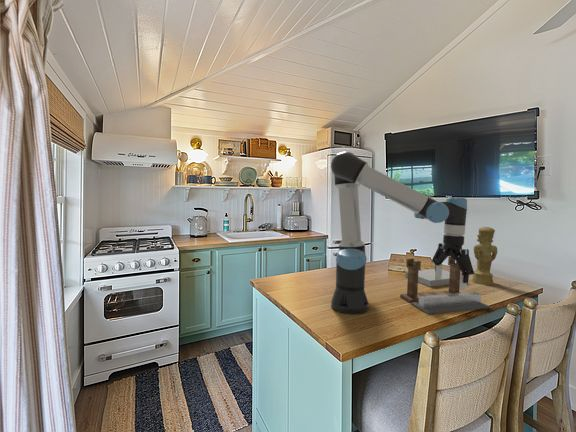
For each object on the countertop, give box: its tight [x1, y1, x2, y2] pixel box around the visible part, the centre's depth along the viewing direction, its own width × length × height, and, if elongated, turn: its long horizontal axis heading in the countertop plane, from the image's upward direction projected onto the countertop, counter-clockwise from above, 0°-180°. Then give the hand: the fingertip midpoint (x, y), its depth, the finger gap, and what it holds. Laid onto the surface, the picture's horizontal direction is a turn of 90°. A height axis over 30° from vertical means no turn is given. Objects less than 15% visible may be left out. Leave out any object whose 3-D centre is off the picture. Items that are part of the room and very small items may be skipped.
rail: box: [419, 291, 482, 308], centre depth 122 cm, size 28×3×4 cm, turn 103°
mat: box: [410, 302, 491, 315], centre depth 122 cm, size 30×10×1 cm, turn 103°
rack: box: [399, 256, 462, 304], centre depth 131 cm, size 29×7×18 cm, turn 103°
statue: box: [470, 226, 498, 286], centre depth 155 cm, size 11×10×30 cm
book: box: [404, 268, 450, 288], centre depth 160 cm, size 18×4×24 cm
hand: (449, 284), depth 122 cm, fingers open, 13 cm apart
